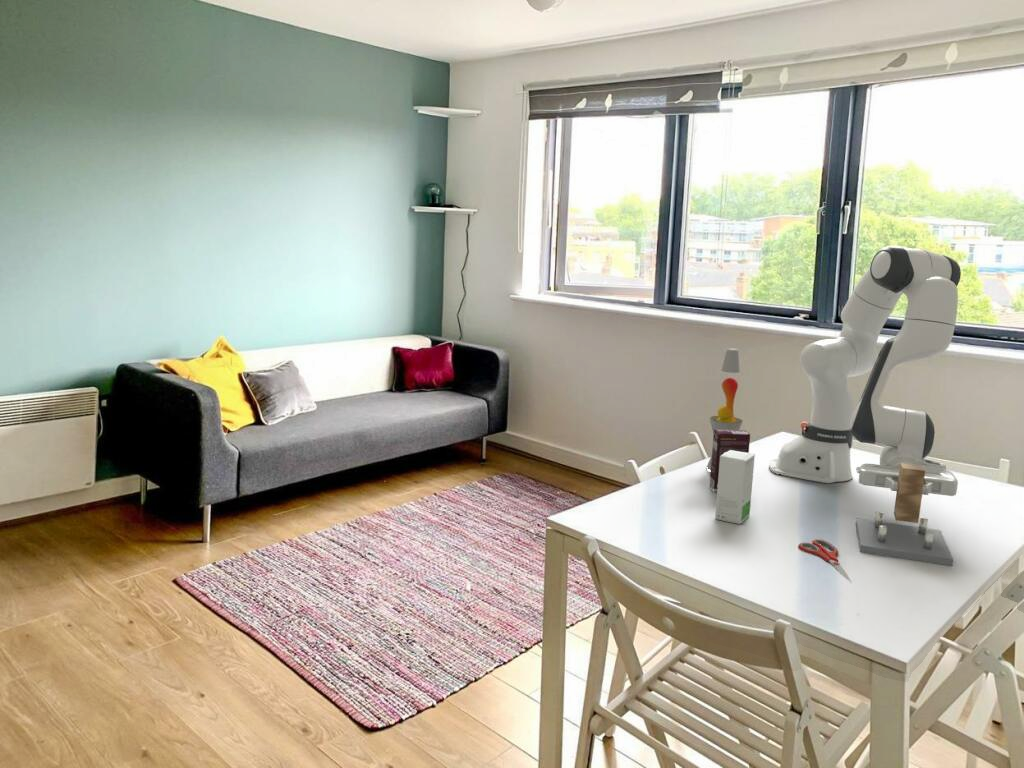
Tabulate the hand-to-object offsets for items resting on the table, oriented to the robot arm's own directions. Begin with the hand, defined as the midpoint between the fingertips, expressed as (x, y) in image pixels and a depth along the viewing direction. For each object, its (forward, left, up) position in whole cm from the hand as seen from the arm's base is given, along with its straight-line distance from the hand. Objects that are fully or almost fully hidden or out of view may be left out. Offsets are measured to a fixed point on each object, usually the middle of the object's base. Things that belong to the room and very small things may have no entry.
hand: (910, 489), depth 180 cm
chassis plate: (0, +1, -13) cm, 13 cm away
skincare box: (-37, +2, -13) cm, 40 cm away
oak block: (0, +1, -7) cm, 7 cm away
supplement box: (-40, +23, -13) cm, 48 cm away
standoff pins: (0, +1, -12) cm, 12 cm away
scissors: (-14, -17, -14) cm, 26 cm away
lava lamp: (-43, +40, -13) cm, 60 cm away
